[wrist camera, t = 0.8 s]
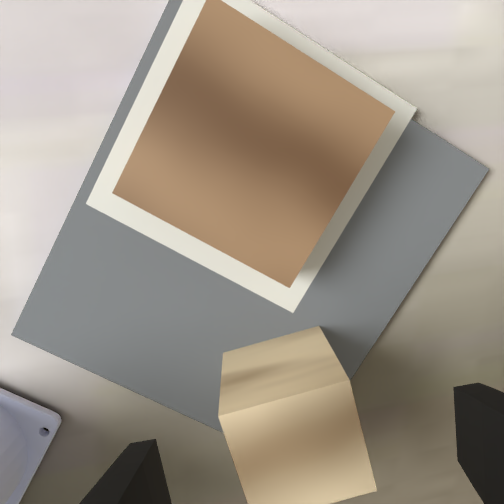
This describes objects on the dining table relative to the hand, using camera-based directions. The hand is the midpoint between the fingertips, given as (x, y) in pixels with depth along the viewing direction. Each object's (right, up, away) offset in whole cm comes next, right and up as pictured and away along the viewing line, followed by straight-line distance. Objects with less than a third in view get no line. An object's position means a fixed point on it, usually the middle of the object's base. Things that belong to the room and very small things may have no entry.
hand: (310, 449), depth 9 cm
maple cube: (0, -2, +10) cm, 10 cm away
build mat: (-2, +5, +9) cm, 10 cm away
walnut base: (-1, +9, +8) cm, 12 cm away
